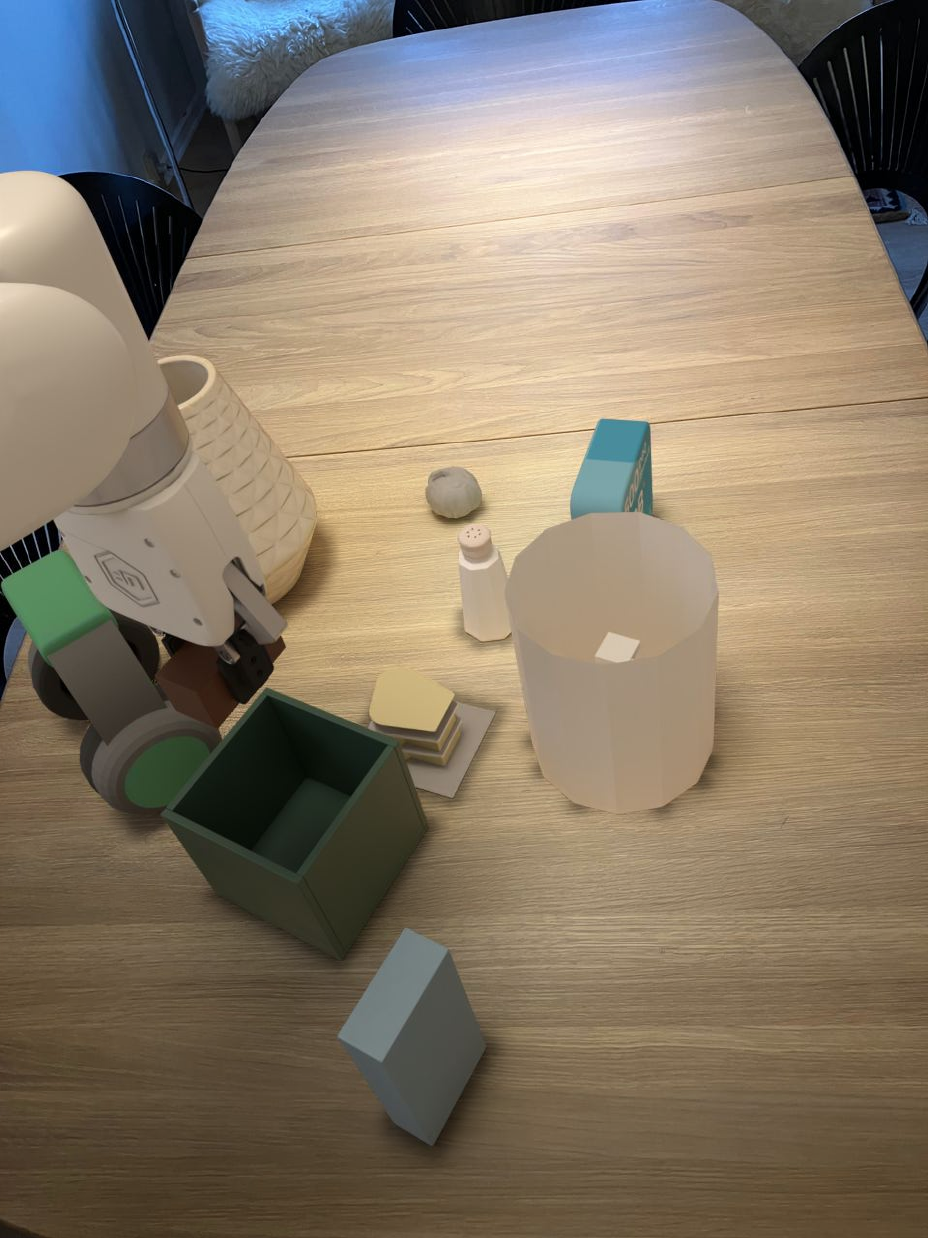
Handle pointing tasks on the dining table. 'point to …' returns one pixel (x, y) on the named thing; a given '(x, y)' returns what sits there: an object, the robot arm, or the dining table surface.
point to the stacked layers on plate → (428, 727)
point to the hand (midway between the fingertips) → (229, 673)
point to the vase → (246, 470)
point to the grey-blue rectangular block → (415, 1035)
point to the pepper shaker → (482, 585)
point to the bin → (301, 819)
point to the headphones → (106, 688)
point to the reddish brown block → (202, 682)
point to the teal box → (615, 470)
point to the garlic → (453, 492)
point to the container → (617, 657)
